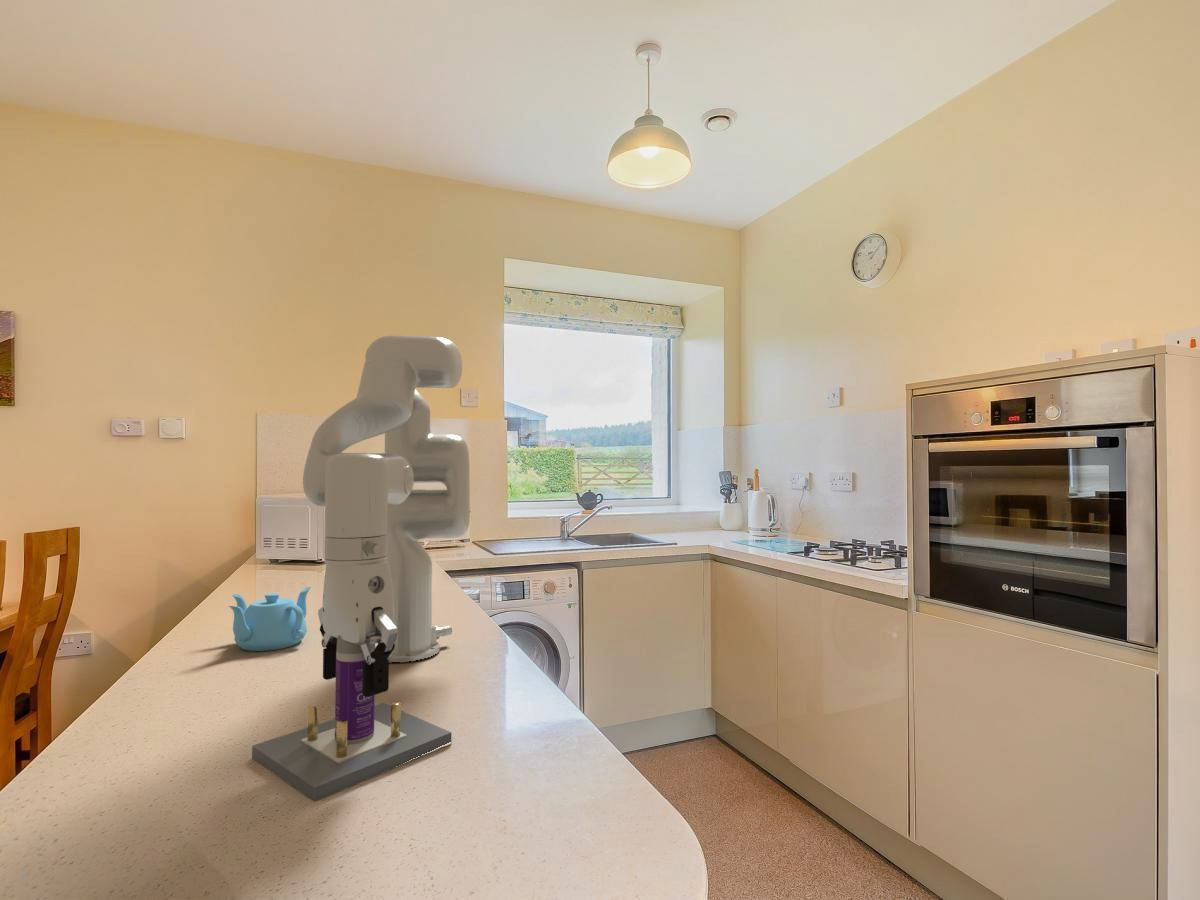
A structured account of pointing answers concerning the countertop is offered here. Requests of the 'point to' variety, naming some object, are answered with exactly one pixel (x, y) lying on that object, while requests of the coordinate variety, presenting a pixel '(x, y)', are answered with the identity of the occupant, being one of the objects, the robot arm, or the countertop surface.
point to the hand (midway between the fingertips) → (354, 684)
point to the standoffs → (342, 727)
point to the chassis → (326, 774)
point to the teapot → (269, 622)
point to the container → (353, 693)
